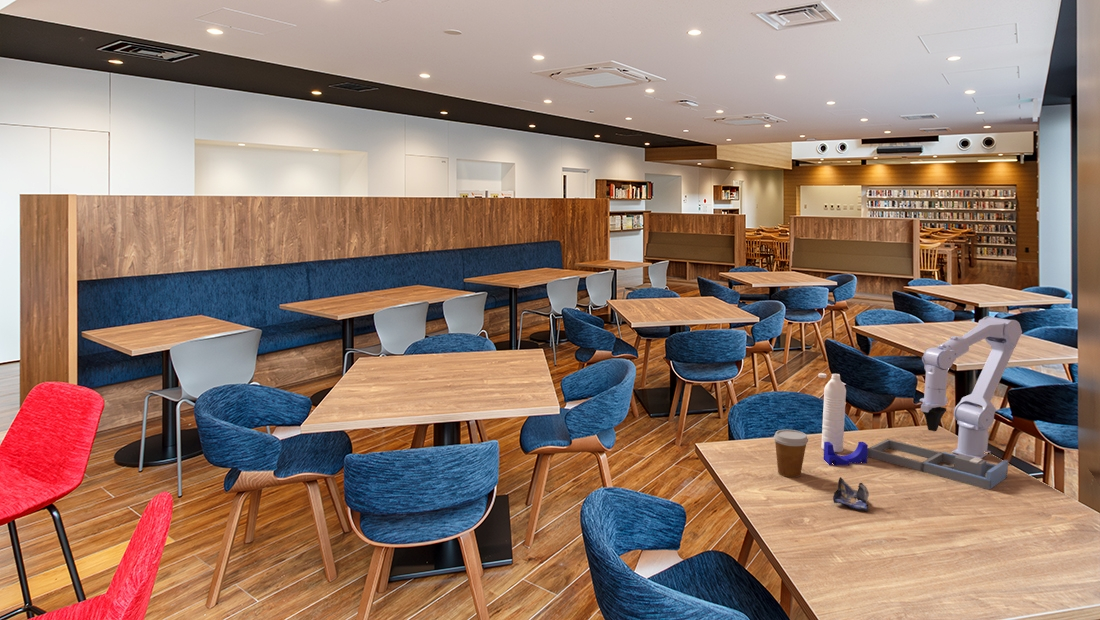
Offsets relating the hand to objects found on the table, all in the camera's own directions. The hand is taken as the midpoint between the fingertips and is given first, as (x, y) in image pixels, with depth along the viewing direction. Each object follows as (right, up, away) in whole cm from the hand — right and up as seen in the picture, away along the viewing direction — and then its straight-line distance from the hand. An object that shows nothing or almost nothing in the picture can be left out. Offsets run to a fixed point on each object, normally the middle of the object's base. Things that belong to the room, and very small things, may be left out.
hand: (932, 430), depth 206 cm
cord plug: (+3, -11, -10) cm, 15 cm away
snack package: (-37, -14, -29) cm, 49 cm away
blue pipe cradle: (-27, -10, 0) cm, 29 cm away
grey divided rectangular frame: (-2, -10, -4) cm, 11 cm away
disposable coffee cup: (-47, -11, -9) cm, 49 cm away
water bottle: (-27, -8, +11) cm, 31 cm away
